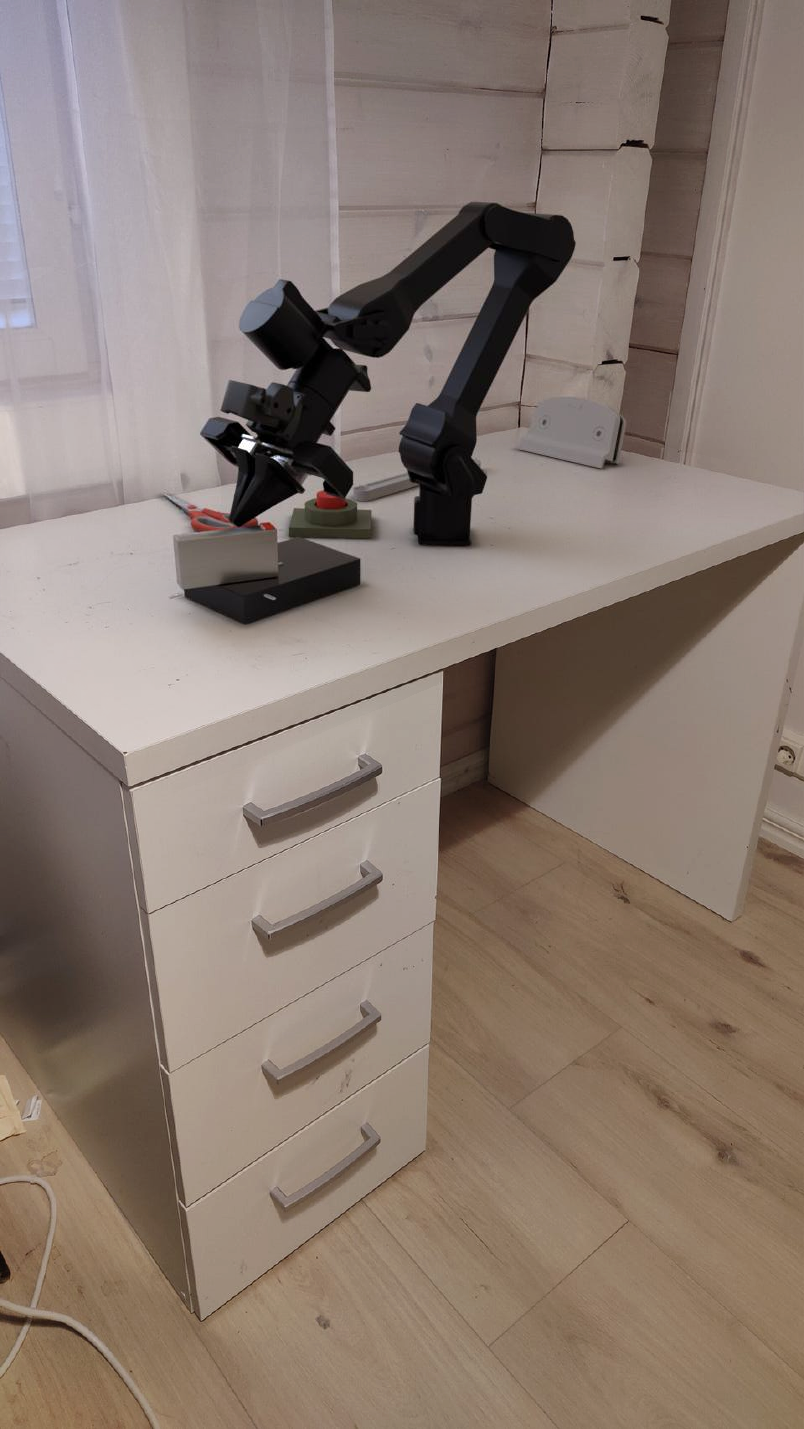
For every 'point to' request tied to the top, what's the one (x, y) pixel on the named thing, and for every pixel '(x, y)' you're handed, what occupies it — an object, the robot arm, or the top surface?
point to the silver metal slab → (226, 556)
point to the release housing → (330, 521)
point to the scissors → (208, 517)
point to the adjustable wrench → (386, 486)
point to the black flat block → (283, 583)
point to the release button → (329, 501)
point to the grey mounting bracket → (576, 431)
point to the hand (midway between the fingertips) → (233, 524)
